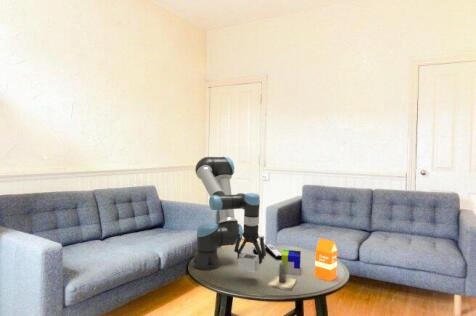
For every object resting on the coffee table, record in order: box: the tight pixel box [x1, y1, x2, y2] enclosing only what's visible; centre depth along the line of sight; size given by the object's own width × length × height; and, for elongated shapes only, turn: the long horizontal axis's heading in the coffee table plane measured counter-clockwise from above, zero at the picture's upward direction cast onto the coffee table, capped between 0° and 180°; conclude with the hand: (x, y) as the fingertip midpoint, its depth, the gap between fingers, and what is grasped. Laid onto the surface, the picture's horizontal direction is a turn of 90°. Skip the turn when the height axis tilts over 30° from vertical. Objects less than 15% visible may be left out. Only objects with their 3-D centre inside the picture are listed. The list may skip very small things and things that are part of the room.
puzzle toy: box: [281, 249, 302, 276], centre depth 187 cm, size 10×10×10 cm
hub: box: [237, 252, 258, 274], centre depth 170 cm, size 9×9×6 cm
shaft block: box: [267, 262, 297, 292], centre depth 168 cm, size 12×12×10 cm
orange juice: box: [314, 238, 338, 282], centre depth 179 cm, size 8×9×20 cm
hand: (249, 267), depth 171 cm, fingers closed on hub, 9 cm apart
